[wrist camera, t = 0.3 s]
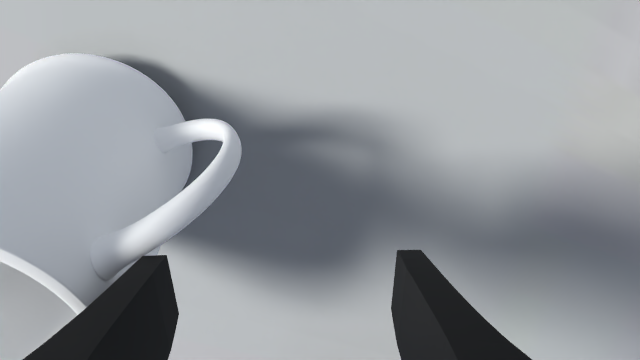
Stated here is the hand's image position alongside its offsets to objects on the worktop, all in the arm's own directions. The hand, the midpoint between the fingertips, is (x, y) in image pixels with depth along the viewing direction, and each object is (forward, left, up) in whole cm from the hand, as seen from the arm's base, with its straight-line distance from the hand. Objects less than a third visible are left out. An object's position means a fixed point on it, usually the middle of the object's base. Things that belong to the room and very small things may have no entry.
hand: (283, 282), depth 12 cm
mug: (-4, +6, -11) cm, 13 cm away
